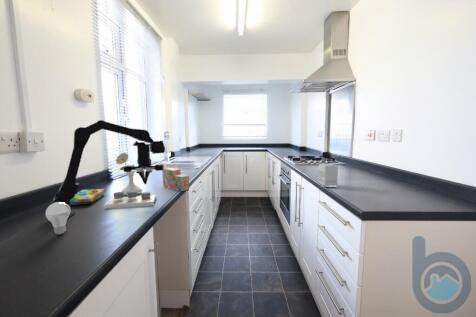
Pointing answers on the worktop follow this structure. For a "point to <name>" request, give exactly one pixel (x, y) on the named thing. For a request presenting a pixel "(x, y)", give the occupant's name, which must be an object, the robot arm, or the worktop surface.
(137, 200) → the button board
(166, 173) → the stack of blocks
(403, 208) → the worktop surface
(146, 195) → the button far
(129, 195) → the button middle
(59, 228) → the light bulb
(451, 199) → the worktop surface
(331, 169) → the supplement box
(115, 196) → the button near
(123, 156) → the flower in vase
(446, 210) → the worktop surface
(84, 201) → the puzzle game
